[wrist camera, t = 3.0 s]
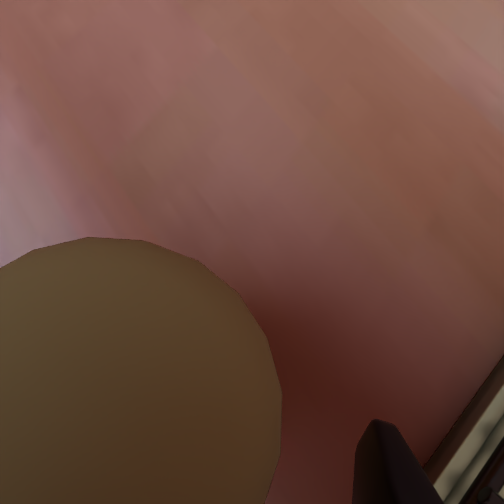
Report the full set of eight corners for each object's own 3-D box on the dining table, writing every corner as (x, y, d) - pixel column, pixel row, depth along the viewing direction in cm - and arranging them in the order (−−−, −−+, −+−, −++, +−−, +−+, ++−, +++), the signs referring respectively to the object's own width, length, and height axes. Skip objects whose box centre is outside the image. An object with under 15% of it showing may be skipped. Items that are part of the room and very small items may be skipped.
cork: (77, 343, 15) (-286, 285, 5) (226, 279, 16) (210, 109, 6) (131, 510, 14) (-210, 983, 3) (292, 430, 15) (442, 589, 4)
